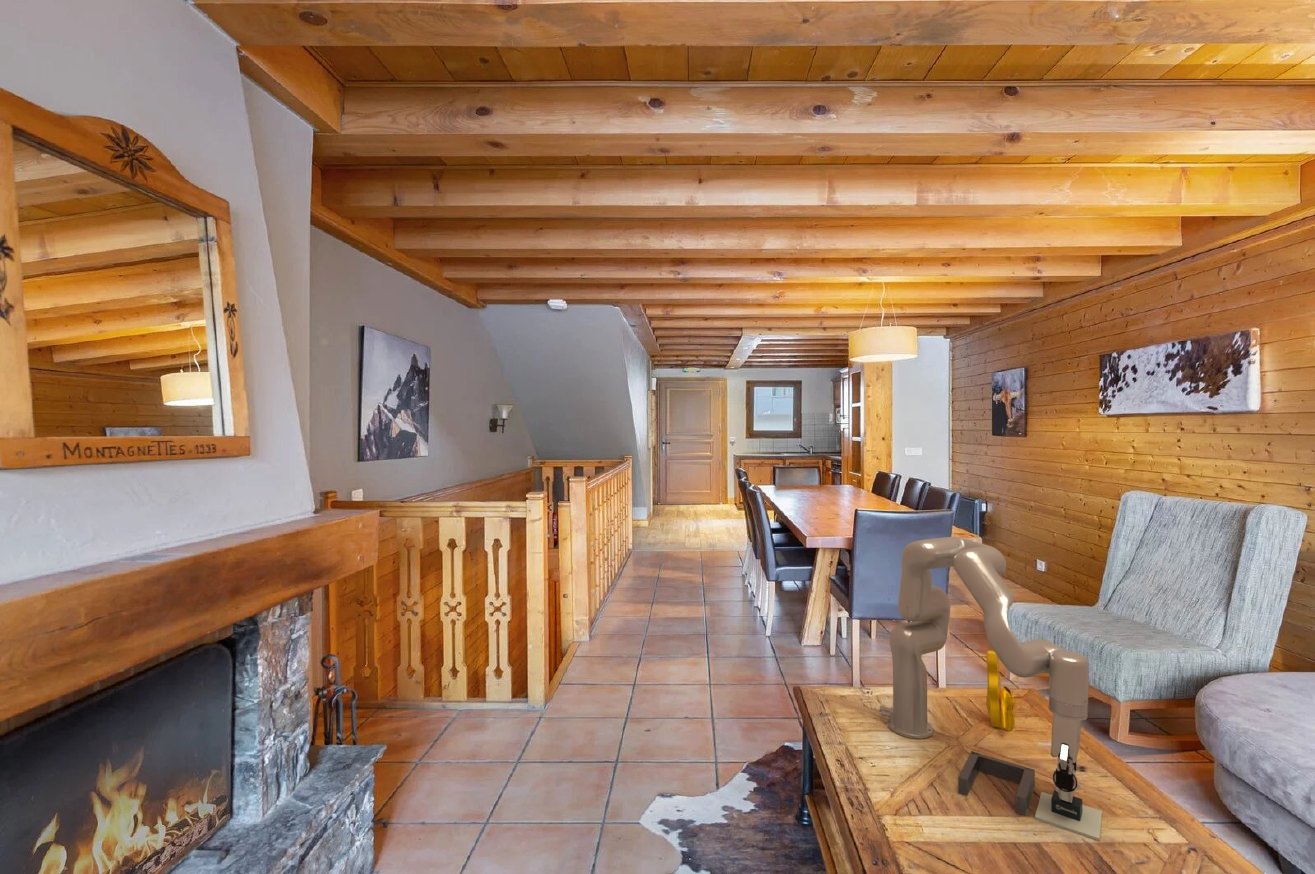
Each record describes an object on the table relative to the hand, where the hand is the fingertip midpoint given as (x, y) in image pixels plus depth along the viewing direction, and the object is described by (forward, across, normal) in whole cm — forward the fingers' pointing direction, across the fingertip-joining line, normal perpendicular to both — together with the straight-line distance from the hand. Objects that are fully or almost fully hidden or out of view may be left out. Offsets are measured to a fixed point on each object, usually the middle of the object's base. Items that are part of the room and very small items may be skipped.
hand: (1066, 778), depth 140 cm
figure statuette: (+10, -39, -19) cm, 44 cm away
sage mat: (+8, 0, +1) cm, 9 cm away
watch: (+8, 0, 0) cm, 8 cm away
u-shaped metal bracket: (+9, -1, -14) cm, 17 cm away
